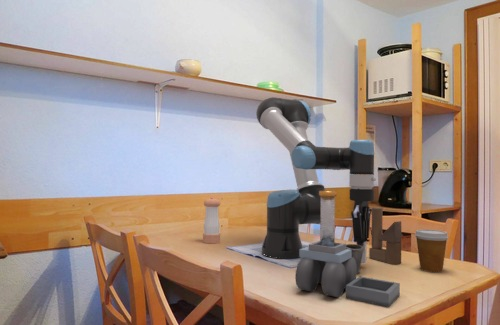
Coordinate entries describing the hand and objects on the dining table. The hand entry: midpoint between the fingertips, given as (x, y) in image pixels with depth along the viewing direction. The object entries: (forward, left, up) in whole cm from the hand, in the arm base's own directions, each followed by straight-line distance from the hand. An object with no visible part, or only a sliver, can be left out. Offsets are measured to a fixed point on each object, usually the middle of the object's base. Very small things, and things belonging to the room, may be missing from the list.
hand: (361, 262), depth 118 cm
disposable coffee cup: (+18, +11, -2) cm, 22 cm away
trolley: (-1, -27, -2) cm, 27 cm away
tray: (+11, -26, -2) cm, 28 cm away
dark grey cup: (0, -10, -2) cm, 10 cm away
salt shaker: (-66, +3, -2) cm, 66 cm away
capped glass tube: (0, -27, +8) cm, 28 cm away
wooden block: (+3, +14, -2) cm, 15 cm away
